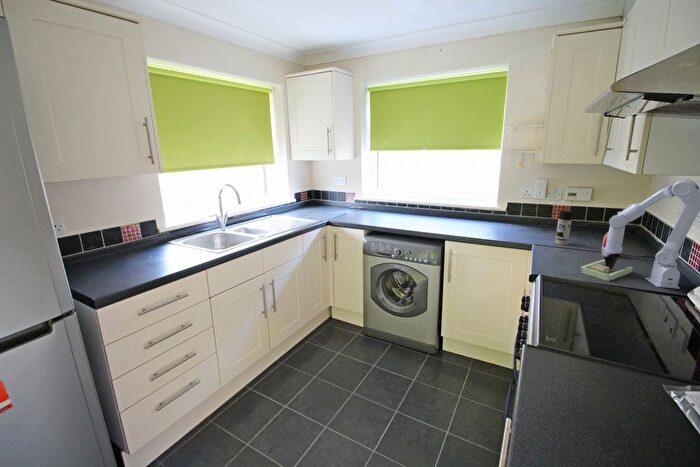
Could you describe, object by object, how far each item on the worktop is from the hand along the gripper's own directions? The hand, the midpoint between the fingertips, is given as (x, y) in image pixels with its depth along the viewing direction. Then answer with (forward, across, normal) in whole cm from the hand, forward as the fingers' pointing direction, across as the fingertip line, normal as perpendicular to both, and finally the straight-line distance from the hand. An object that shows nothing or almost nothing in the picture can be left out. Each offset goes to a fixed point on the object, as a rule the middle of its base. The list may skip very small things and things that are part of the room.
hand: (609, 268), depth 161 cm
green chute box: (+1, +4, 0) cm, 4 cm away
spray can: (+2, -26, -37) cm, 45 cm away
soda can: (+2, -27, -12) cm, 29 cm away
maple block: (+2, +8, 0) cm, 9 cm away
